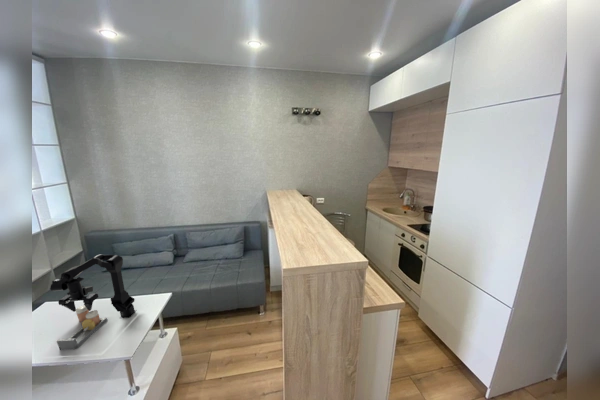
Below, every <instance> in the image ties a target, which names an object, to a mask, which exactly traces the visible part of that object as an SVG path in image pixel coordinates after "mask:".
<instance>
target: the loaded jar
mask: <svg viewBox="0 0 600 400" xmlns="http://www.w3.org/2000/svg"><path fill="white" fill-rule="evenodd" d="M98 311H99V310H97V309H94V310H92V311H91V310H90V311H89V313H87V314H86V319H87V320H92V321H94V323H95V326H97V325H98V324H99V323H100V322H101V321H100V319H101V318H100V314H99V312H98Z"/></svg>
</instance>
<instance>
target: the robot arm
mask: <svg viewBox="0 0 600 400" xmlns="http://www.w3.org/2000/svg"><path fill="white" fill-rule="evenodd" d="M123 264H124V259H123V257H122V256H121V255H119V254H97V255H95V256H94V257H92V258H90V259H89V260H87V261H85V262H83V263H81V264H80V265H75V266H73V267H70V268H69V269H67V270H65V271H64V272H62V273H61V274H60V278H55V279H54V280H52V281H51V284H50V288H49V289H50V291H51V292H60V291H68V292H67V293H66V295H64V296H63V297H62V298H59V299H58V305H59V306H62V307H64V308H67V309H68V310H70V311H71V312H75V313H76V309H77V308H76V304H75V302H78V301H82V303H83V305H85V307H86V308H87V309H88V310H89V312H91V310H92V308H93V303H94V301H95V300H97V299H98V298H99V294H98V293H93V292H94V291H93V290H94V285H89V286H84V285H82V283H81V282H83V280H84V279H85V278H83V277H81V276H79V275H80V274H82V273H83V272H84V271H86V270H87V269H89V268H91V267H93V266H95V265H98V266H99V267H101V268H104V269H106V271H107V272H108V273H109V274H110V278H111V283H112V289H113V293H114V295H112V296H111V297H110V302H111V303H110V305H112V306H113V308H114V309H115V310H116V311H117V312H119V314H120V319H129V318H131V317H132V316H133V315H134V314H135V313H136V312H137V309H136V310H135V307H134V304H133V303H135V301H136V298H134V297H132V296H131V295H129V292H128V291H127V290H125V286H124V280H123V275H122V274H123V273H122V267H123ZM88 293H89V294H88Z"/></svg>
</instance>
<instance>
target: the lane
mask: <svg viewBox="0 0 600 400" xmlns="http://www.w3.org/2000/svg"><path fill="white" fill-rule="evenodd" d="M100 321H101V322H100V323H99V324H98V325H97V326H96V327H95V328H94V329H92V330H86V331H83V330H84V329H83V326H81V328H79V329H78V331H76V332H75V333H74V334H72V335H71V336H70V337H69V338H59V339H57V340H56V343H57V346H58V349H59V351H62V350H63V351H67V350H77V349H78V348H79V347H80V346H81V345H82V344H83V343H84V342H85V341H87V340H88V339H89V337H91V336H92V335H94V334H95V332H96V331H97V330H99V328H100V327H102V325H103V324H105V323H106V321H108V317H104V318H100Z"/></svg>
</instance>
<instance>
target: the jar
mask: <svg viewBox="0 0 600 400" xmlns="http://www.w3.org/2000/svg"><path fill="white" fill-rule="evenodd" d="M89 312H90V311H89V310H88V309H87V308H86V307H85V305H84V304H83V305H81V306H78V307H77V308H76V311H75V313H76V316H77V319H78V322H79V323H82V322H83V321H84V320H87V319H86V314H87V313H89Z"/></svg>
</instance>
